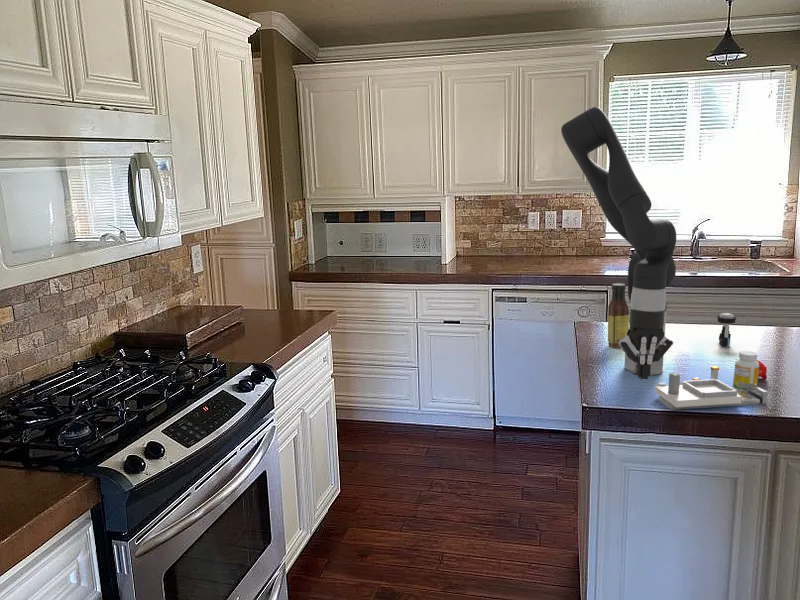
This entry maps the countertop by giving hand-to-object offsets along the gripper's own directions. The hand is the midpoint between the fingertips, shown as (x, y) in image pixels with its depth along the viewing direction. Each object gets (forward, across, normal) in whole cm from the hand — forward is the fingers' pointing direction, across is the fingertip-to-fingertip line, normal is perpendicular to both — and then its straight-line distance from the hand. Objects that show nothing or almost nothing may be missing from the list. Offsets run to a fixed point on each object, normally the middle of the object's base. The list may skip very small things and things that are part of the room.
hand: (642, 378), depth 155 cm
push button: (+6, -48, -47) cm, 68 cm away
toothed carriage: (+5, -14, -1) cm, 15 cm away
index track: (+7, -18, -3) cm, 19 cm away
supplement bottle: (+7, -30, -8) cm, 32 cm away
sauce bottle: (+7, -15, -50) cm, 53 cm away
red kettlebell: (+7, -37, -14) cm, 40 cm away
